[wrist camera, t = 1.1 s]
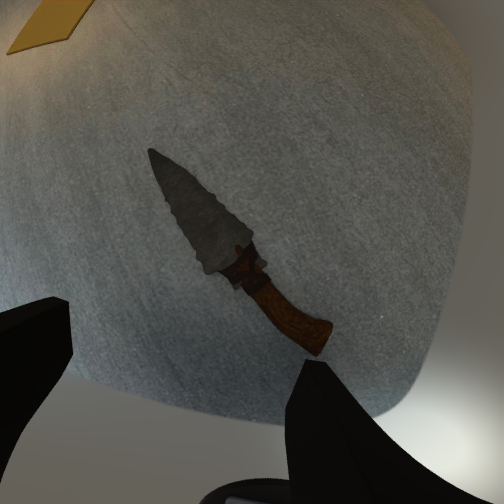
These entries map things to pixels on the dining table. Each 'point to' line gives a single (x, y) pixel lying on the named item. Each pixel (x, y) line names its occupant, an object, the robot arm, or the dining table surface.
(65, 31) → the cloth
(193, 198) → the knife
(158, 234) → the dining table surface
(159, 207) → the dining table surface
